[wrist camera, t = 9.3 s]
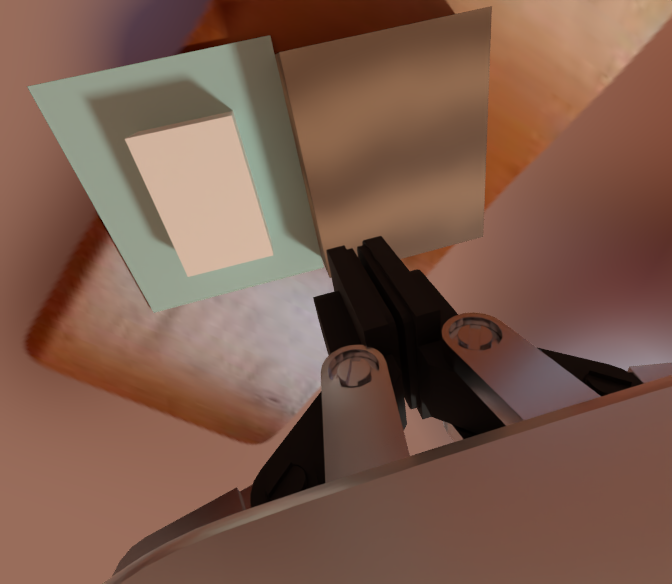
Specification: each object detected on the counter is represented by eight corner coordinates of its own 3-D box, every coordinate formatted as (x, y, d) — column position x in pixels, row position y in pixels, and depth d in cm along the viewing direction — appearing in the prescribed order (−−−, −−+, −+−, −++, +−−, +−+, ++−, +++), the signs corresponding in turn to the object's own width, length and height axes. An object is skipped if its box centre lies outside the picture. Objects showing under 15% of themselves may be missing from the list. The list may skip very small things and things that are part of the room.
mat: (30, 86, 21) (26, 86, 21) (269, 35, 22) (270, 35, 22) (154, 310, 30) (153, 312, 29) (322, 265, 31) (323, 267, 30)
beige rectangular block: (231, 115, 21) (233, 110, 23) (124, 138, 20) (137, 131, 23) (273, 255, 26) (271, 238, 28) (188, 277, 25) (193, 258, 28)
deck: (274, 55, 23) (279, 52, 19) (456, 15, 24) (491, 6, 20) (320, 254, 30) (329, 277, 27) (457, 218, 31) (483, 236, 28)
